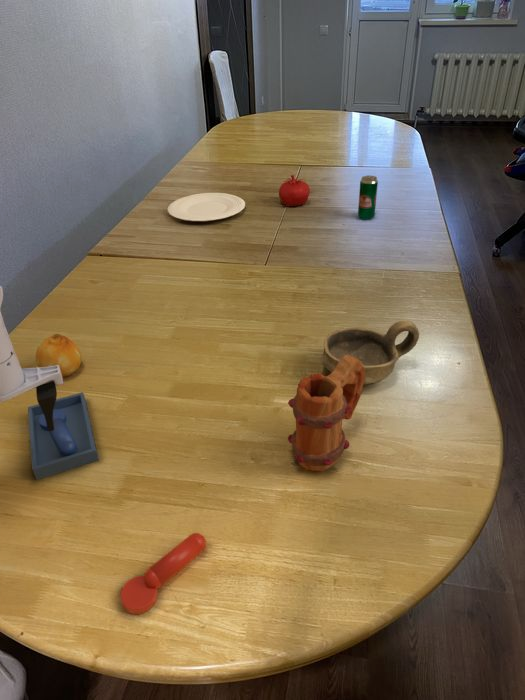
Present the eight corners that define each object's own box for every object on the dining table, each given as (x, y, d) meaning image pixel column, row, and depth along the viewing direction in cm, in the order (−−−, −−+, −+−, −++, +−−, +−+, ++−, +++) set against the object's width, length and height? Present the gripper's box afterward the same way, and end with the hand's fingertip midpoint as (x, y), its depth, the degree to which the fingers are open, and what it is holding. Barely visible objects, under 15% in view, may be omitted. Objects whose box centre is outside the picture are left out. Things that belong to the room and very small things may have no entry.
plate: (233, 228, 154) (233, 222, 153) (155, 223, 159) (154, 217, 158) (254, 199, 174) (253, 194, 173) (184, 196, 179) (183, 190, 178)
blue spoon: (85, 452, 81) (81, 440, 80) (59, 464, 79) (54, 452, 78) (62, 410, 89) (58, 399, 88) (37, 420, 88) (33, 409, 86)
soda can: (354, 218, 157) (357, 178, 150) (362, 213, 160) (365, 174, 153) (369, 221, 154) (373, 181, 147) (377, 216, 158) (381, 176, 151)
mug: (318, 489, 74) (322, 411, 65) (277, 461, 79) (275, 384, 70) (376, 435, 83) (386, 359, 74) (335, 412, 87) (340, 338, 79)
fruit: (97, 354, 100) (68, 322, 96) (70, 382, 94) (39, 349, 91) (74, 363, 105) (46, 333, 101) (47, 390, 99) (17, 359, 96)
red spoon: (194, 533, 69) (192, 521, 67) (215, 553, 67) (213, 541, 65) (115, 597, 62) (111, 585, 61) (135, 622, 60) (130, 610, 58)
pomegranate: (312, 207, 166) (312, 178, 160) (281, 210, 165) (281, 180, 159) (306, 197, 174) (306, 169, 168) (276, 199, 173) (276, 171, 167)
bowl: (313, 353, 101) (314, 310, 95) (401, 345, 102) (407, 302, 96) (328, 399, 90) (330, 353, 84) (426, 390, 91) (435, 343, 85)
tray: (98, 460, 80) (95, 450, 79) (36, 479, 78) (32, 469, 76) (86, 401, 92) (83, 391, 90) (31, 416, 89) (27, 406, 88)
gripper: (48, 326, 70) (72, 402, 78) (-72, 353, 65) (-33, 431, 73) (52, 353, 64) (78, 432, 72) (-78, 385, 60) (-35, 465, 68)
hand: (22, 434), depth 72 cm, fingers open, 7 cm apart
